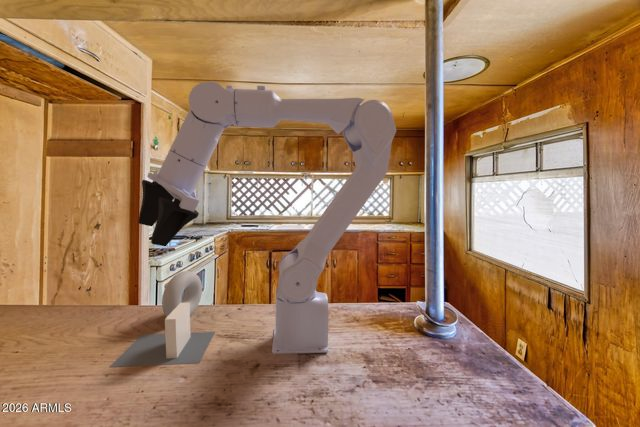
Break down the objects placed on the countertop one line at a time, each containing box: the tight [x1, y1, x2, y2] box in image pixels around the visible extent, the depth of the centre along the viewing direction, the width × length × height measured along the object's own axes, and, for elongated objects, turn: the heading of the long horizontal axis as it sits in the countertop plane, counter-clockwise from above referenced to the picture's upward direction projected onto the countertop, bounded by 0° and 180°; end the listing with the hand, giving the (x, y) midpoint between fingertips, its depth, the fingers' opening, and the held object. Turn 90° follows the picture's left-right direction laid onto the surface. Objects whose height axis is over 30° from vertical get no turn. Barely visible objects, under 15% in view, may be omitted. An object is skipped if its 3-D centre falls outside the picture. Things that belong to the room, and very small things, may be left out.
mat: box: [109, 331, 216, 368], centre depth 46 cm, size 13×9×1 cm
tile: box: [164, 303, 192, 358], centre depth 46 cm, size 2×6×6 cm, turn 6°
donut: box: [161, 270, 203, 318], centre depth 56 cm, size 10×4×10 cm, turn 168°
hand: (151, 233), depth 44 cm, fingers open, 7 cm apart
